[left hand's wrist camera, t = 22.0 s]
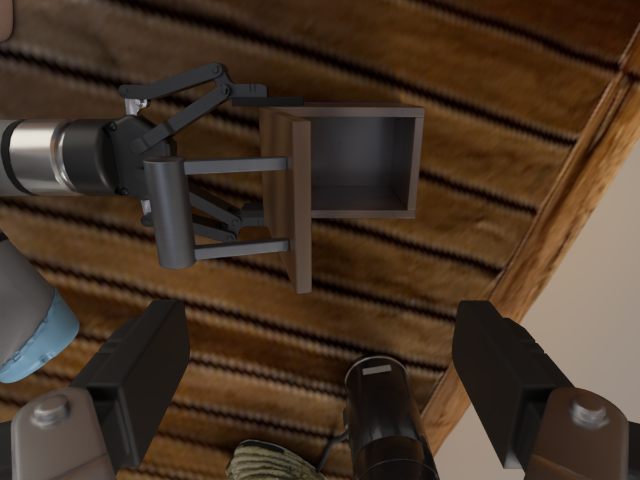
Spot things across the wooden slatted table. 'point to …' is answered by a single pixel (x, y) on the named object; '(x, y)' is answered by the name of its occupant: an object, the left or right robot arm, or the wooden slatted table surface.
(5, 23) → the anatomical model
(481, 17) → the wooden slatted table surface
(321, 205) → the chest
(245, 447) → the fossil
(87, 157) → the right robot arm
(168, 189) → the lid
